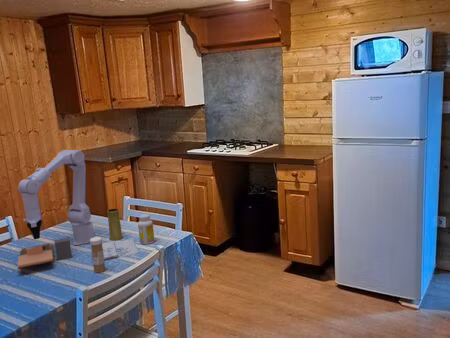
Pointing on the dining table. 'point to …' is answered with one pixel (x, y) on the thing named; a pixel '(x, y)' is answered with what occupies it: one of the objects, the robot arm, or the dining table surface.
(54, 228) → the dining table surface
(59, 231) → the dining table surface
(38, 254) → the panel
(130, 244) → the open book
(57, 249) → the plug
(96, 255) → the sprinkles bottle
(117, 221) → the vase
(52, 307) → the dining table surface
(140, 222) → the supplement bottle
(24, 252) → the socket
